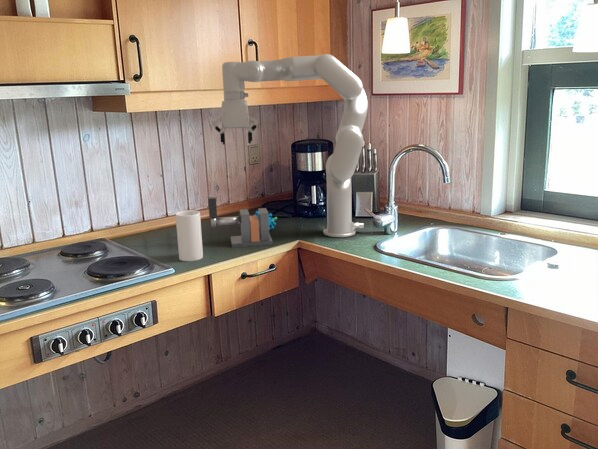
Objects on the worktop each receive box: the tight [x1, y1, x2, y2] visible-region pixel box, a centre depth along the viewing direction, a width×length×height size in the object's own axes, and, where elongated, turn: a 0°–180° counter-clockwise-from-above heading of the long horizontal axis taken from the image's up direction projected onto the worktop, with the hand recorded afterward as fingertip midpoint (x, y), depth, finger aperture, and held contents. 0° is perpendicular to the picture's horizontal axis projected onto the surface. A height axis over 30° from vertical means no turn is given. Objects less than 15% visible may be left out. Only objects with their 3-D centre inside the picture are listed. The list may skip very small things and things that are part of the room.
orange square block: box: [249, 214, 259, 242], centre depth 207 cm, size 3×8×8 cm, turn 9°
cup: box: [175, 209, 204, 262], centre depth 191 cm, size 8×8×16 cm
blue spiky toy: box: [254, 210, 278, 231], centre depth 228 cm, size 11×6×10 cm
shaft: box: [207, 196, 241, 228], centre depth 204 cm, size 12×4×11 cm, turn 99°
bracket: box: [230, 207, 274, 249], centre depth 207 cm, size 15×10×12 cm, turn 99°
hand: (236, 143), depth 207 cm, fingers open, 9 cm apart
